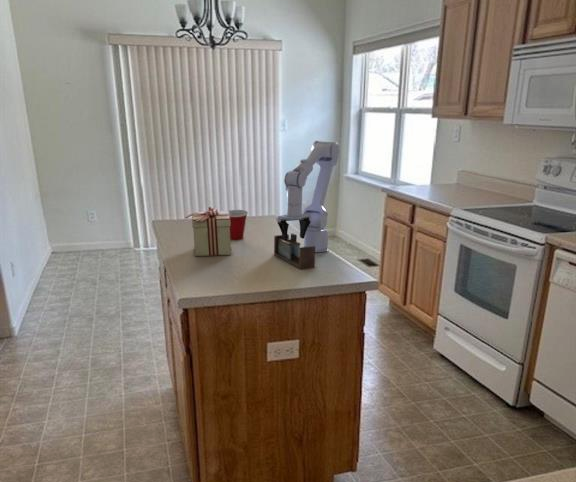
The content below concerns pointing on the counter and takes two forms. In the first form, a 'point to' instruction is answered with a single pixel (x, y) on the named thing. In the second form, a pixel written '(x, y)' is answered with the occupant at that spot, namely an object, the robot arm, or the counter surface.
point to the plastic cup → (237, 223)
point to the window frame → (284, 252)
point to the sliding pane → (294, 246)
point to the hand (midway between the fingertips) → (293, 238)
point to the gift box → (211, 232)
